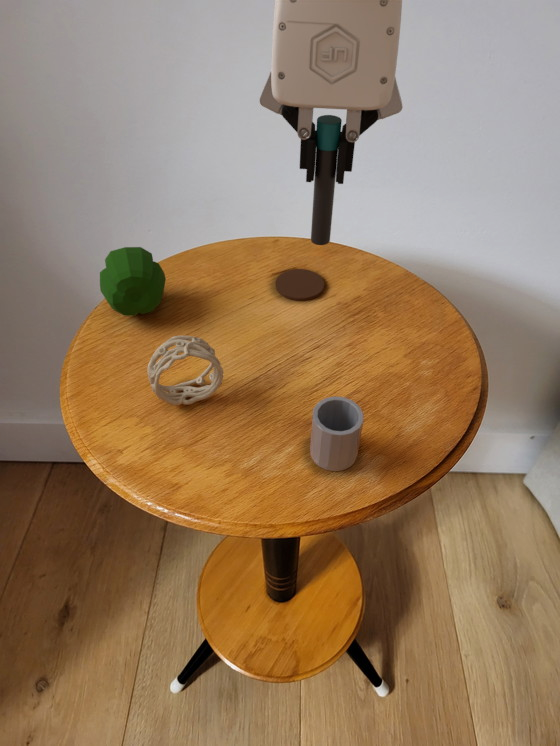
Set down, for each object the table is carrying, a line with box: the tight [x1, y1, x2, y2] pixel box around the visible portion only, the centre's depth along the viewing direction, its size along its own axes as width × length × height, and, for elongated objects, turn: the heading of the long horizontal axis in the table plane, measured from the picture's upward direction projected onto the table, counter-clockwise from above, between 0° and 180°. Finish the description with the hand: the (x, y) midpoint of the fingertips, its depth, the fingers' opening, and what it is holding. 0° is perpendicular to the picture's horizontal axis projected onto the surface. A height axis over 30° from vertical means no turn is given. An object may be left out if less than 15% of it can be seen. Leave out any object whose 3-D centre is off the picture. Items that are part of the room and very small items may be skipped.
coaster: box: [274, 268, 325, 302], centre depth 81 cm, size 7×7×1 cm
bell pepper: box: [99, 246, 167, 317], centre depth 75 cm, size 8×8×10 cm
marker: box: [310, 114, 342, 246], centre depth 55 cm, size 2×2×12 cm
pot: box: [309, 396, 365, 472], centre depth 58 cm, size 5×5×6 cm
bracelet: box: [146, 335, 224, 406], centre depth 63 cm, size 4×8×8 cm, turn 112°
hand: (325, 175), depth 54 cm, fingers closed on marker, 2 cm apart
